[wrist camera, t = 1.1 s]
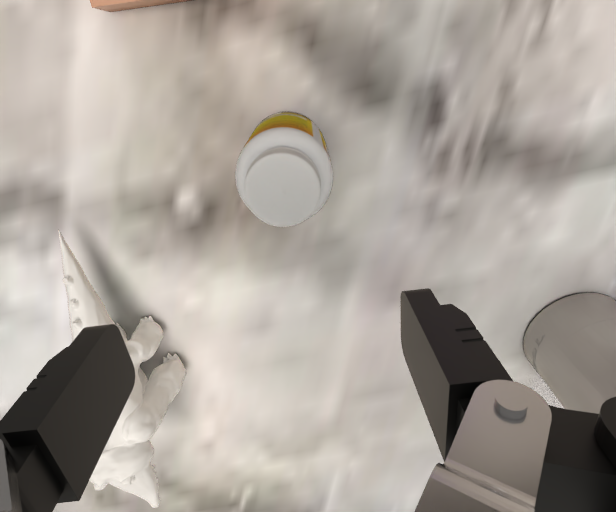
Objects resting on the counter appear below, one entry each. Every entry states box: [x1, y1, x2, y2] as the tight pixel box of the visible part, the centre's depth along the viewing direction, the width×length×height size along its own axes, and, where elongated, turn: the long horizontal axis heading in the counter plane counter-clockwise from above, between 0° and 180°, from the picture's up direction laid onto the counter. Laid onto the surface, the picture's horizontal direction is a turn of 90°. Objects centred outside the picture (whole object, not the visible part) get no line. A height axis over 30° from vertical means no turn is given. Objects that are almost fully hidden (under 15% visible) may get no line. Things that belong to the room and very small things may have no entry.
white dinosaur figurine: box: [58, 230, 186, 508], centre depth 32 cm, size 7×24×11 cm, turn 13°
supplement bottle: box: [235, 112, 333, 227], centre depth 25 cm, size 6×6×10 cm
